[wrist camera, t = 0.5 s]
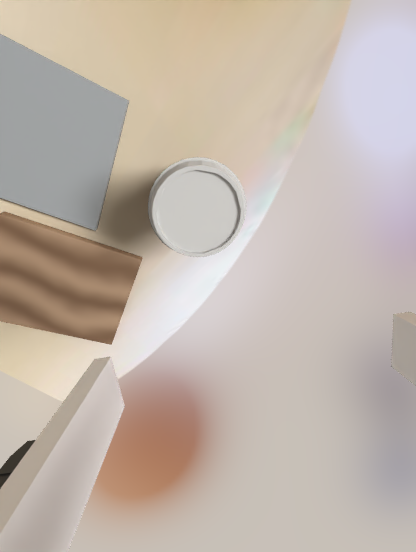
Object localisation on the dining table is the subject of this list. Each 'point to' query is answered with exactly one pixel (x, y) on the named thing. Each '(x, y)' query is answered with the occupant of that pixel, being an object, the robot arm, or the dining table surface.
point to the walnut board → (62, 280)
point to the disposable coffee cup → (197, 207)
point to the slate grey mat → (55, 136)
